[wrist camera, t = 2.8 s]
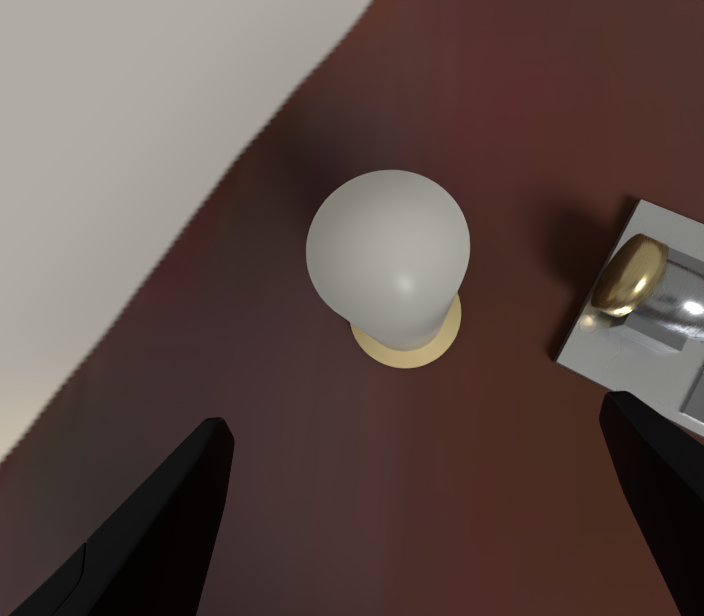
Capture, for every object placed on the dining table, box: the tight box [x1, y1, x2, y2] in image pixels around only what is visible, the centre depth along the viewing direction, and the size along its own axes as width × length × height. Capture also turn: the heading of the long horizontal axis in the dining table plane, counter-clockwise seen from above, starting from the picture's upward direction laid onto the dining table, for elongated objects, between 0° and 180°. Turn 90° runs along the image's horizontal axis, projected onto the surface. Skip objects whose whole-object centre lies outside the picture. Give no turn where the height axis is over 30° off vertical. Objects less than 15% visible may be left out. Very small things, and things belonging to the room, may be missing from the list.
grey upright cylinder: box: [306, 170, 470, 368], centre depth 16 cm, size 6×6×12 cm
